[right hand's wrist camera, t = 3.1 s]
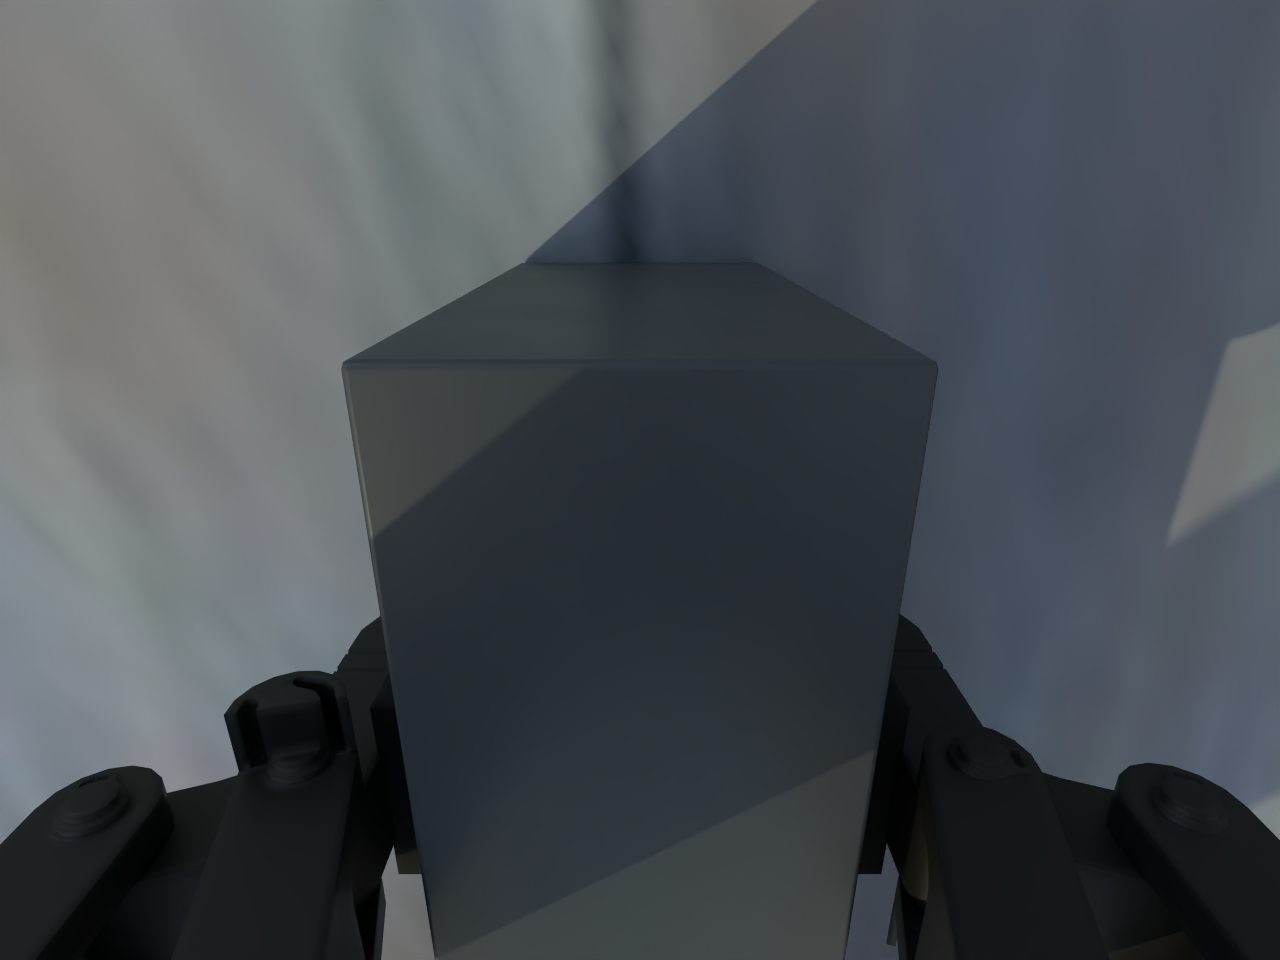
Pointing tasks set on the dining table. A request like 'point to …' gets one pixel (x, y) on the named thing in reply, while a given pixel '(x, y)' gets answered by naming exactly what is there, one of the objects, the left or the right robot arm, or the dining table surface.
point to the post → (639, 603)
